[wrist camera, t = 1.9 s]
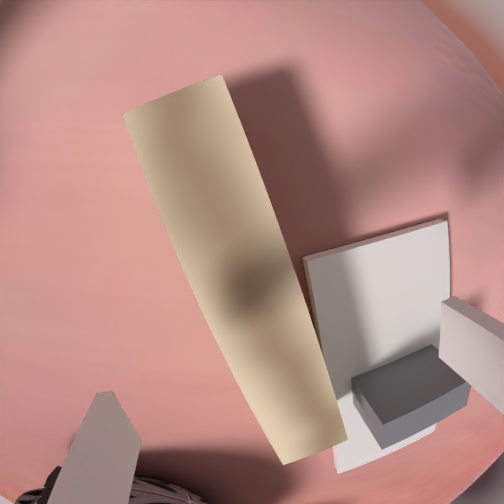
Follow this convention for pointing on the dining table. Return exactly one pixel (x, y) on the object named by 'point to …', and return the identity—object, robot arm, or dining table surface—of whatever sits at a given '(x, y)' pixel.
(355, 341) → the fulcrum
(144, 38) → the dining table surface
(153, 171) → the wooden beam
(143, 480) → the teapot
